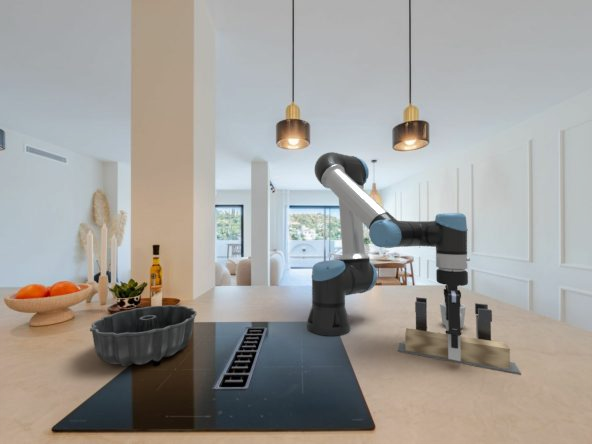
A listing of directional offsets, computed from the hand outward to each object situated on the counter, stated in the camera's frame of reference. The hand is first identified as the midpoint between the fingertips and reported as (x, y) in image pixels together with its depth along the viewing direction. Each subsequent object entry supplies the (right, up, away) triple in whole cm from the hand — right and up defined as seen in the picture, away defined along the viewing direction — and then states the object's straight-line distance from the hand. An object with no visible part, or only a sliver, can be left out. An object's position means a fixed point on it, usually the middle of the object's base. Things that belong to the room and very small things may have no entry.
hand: (452, 351), depth 74 cm
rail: (0, -1, 0) cm, 1 cm away
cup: (+13, -3, +22) cm, 26 cm away
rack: (+3, -2, +6) cm, 7 cm away
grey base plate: (0, -2, 0) cm, 2 cm away
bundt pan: (-85, -2, +3) cm, 86 cm away
